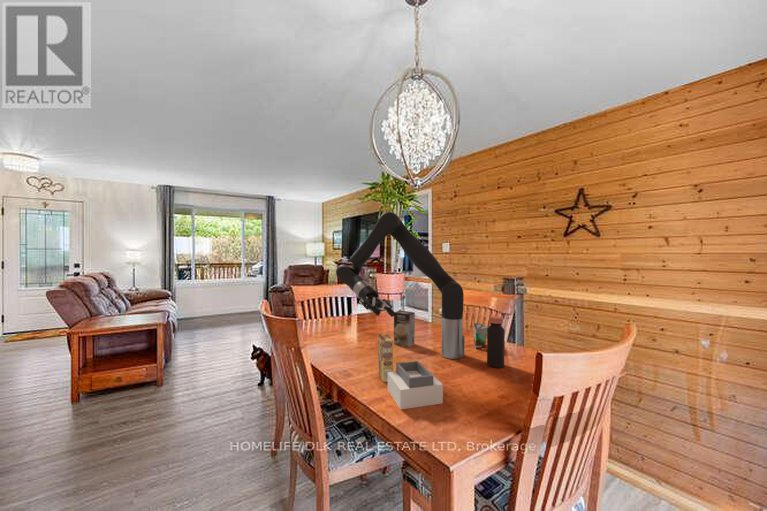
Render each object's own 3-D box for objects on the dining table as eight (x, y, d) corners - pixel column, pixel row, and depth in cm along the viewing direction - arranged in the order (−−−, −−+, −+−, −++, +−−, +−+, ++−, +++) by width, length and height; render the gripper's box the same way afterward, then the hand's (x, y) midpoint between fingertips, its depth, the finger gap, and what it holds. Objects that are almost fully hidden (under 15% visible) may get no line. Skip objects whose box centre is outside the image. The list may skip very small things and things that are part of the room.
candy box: (393, 381, 117) (393, 339, 116) (382, 382, 116) (382, 340, 115) (387, 372, 125) (387, 333, 125) (377, 373, 124) (377, 334, 124)
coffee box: (393, 344, 160) (392, 312, 160) (399, 340, 166) (399, 310, 165) (409, 347, 155) (409, 314, 155) (415, 343, 161) (415, 312, 160)
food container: (489, 350, 150) (489, 329, 149) (475, 350, 151) (476, 329, 150) (486, 342, 162) (486, 323, 161) (473, 342, 163) (474, 322, 163)
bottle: (506, 364, 132) (507, 316, 131) (500, 369, 127) (500, 319, 126) (491, 360, 137) (491, 314, 136) (484, 365, 132) (484, 317, 131)
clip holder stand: (425, 384, 114) (425, 359, 114) (442, 403, 101) (442, 375, 100) (387, 389, 110) (387, 363, 110) (400, 409, 97) (400, 380, 96)
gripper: (356, 283, 134) (378, 305, 123) (380, 287, 144) (402, 307, 133) (349, 298, 135) (369, 321, 124) (373, 301, 145) (394, 322, 134)
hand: (386, 314), depth 129 cm, fingers open, 8 cm apart
